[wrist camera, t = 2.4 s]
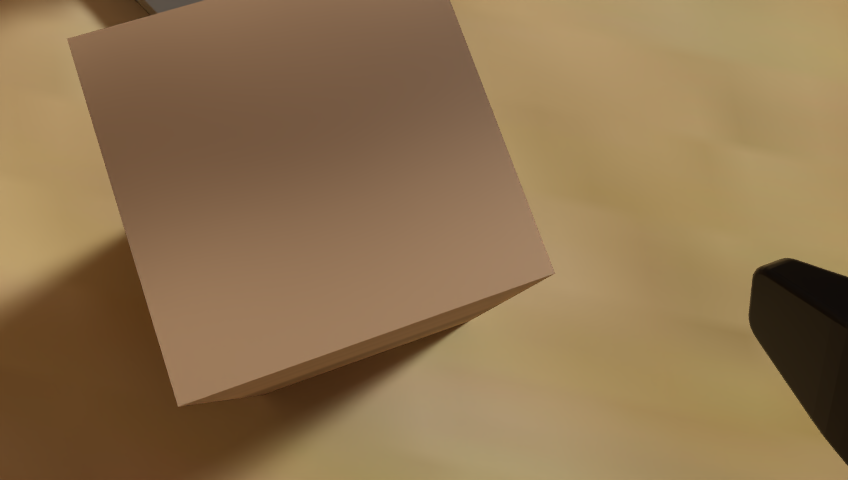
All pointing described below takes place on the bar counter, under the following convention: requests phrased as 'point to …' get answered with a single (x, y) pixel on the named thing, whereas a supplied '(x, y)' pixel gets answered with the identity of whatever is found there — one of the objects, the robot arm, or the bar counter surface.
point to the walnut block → (304, 183)
